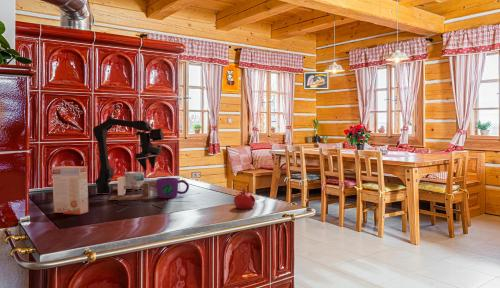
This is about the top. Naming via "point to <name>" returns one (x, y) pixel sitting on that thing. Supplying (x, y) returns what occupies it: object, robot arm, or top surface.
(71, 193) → the cracker box
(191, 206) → the top surface
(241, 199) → the pomegranate
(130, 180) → the light bulb box
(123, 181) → the tan rectangular block
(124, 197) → the rod stand
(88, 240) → the top surface
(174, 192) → the mug
